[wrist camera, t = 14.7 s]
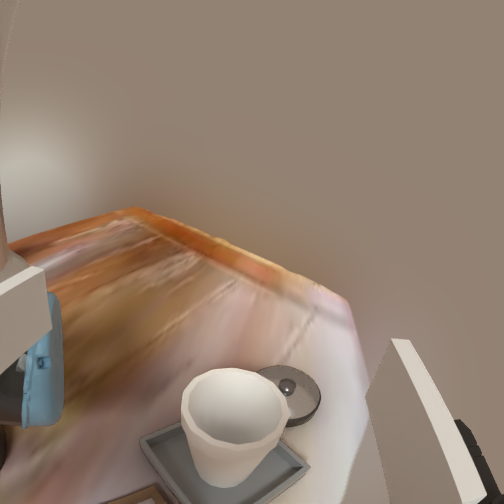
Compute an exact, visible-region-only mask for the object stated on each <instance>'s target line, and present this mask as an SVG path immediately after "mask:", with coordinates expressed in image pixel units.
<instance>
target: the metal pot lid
mask: <svg viewBox="0 0 504 504" xmlns="http://www.w3.org/2000/svg"><path fill="white" fill-rule="evenodd" d="M257 374H259V375H261V376H262V377H264V378H266V379H268V380H269V381H271V382H273V383H274V384H275V385H276V386H277V388H278V389H279V390H280V391H281V393H282V394H283V395H284V396H285V397H286V401H287V406H288V411H289V418H288V421H287V423H286V425H285V427H293V426H298V425H301V424H303V423H306V422H307V421H309V420H310V419H311V418H312V417H313V416H314V414H315V412H316V410H317V409H318V407H319V404H320V400H321V394H320V390H319V388H318V386H317V384H316V383H315V382H314V380H313V379H312V378H311V377H310V376H308V375H307V374H306V373H304V372H302V371H300V370H298V369H295V368H292V367H288V366H271V367H267V368H264V369H262V370H260V371H258V372H257Z"/></svg>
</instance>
